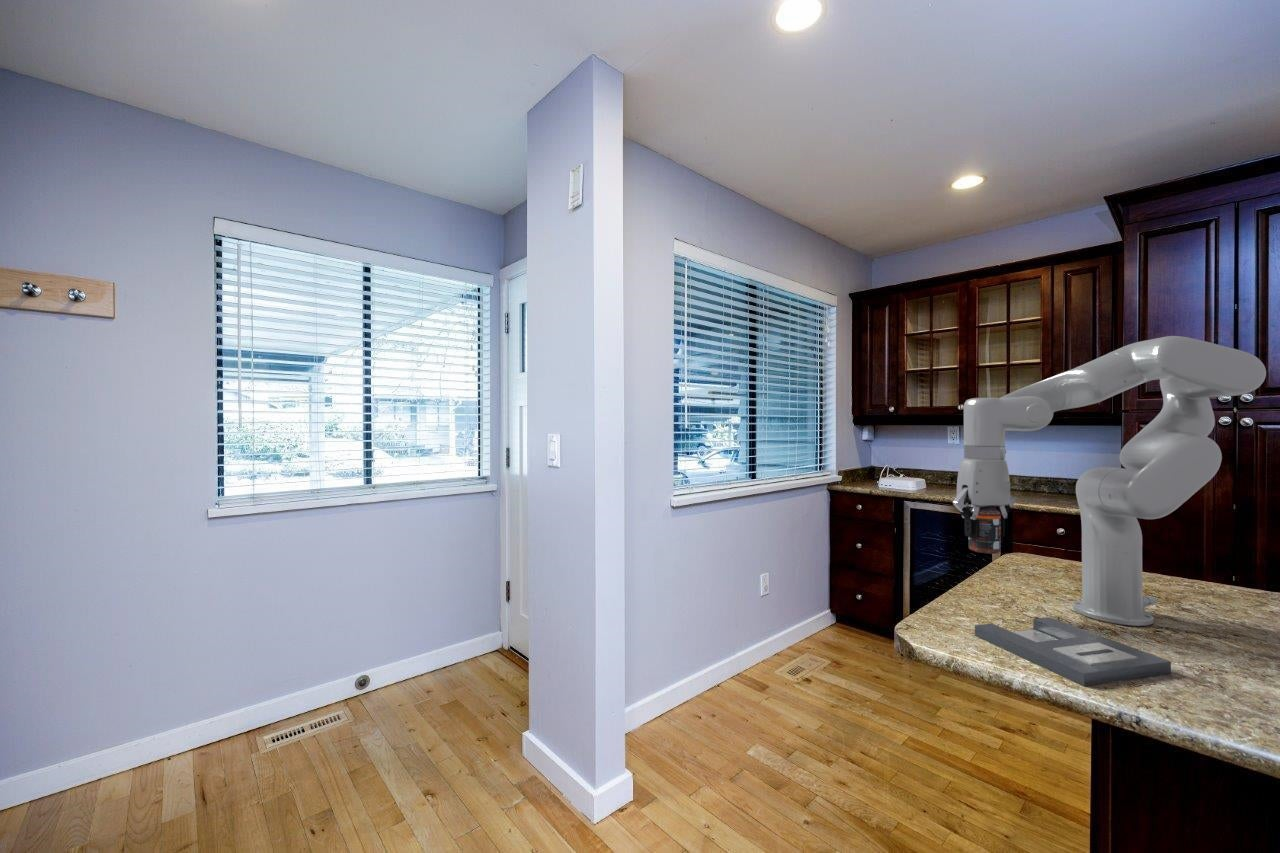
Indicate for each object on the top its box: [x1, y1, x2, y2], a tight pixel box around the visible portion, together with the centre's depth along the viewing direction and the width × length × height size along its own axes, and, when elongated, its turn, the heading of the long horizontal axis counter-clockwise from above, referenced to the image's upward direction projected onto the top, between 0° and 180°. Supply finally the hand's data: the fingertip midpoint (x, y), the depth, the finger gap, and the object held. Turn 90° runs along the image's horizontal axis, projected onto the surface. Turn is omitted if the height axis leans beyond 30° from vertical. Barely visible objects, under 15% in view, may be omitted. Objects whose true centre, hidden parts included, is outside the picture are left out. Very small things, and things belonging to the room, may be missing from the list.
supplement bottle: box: [967, 505, 1002, 555], centre depth 112 cm, size 6×6×11 cm
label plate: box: [974, 617, 1172, 687], centre depth 92 cm, size 18×20×2 cm
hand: (984, 535), depth 112 cm, fingers closed on supplement bottle, 6 cm apart
